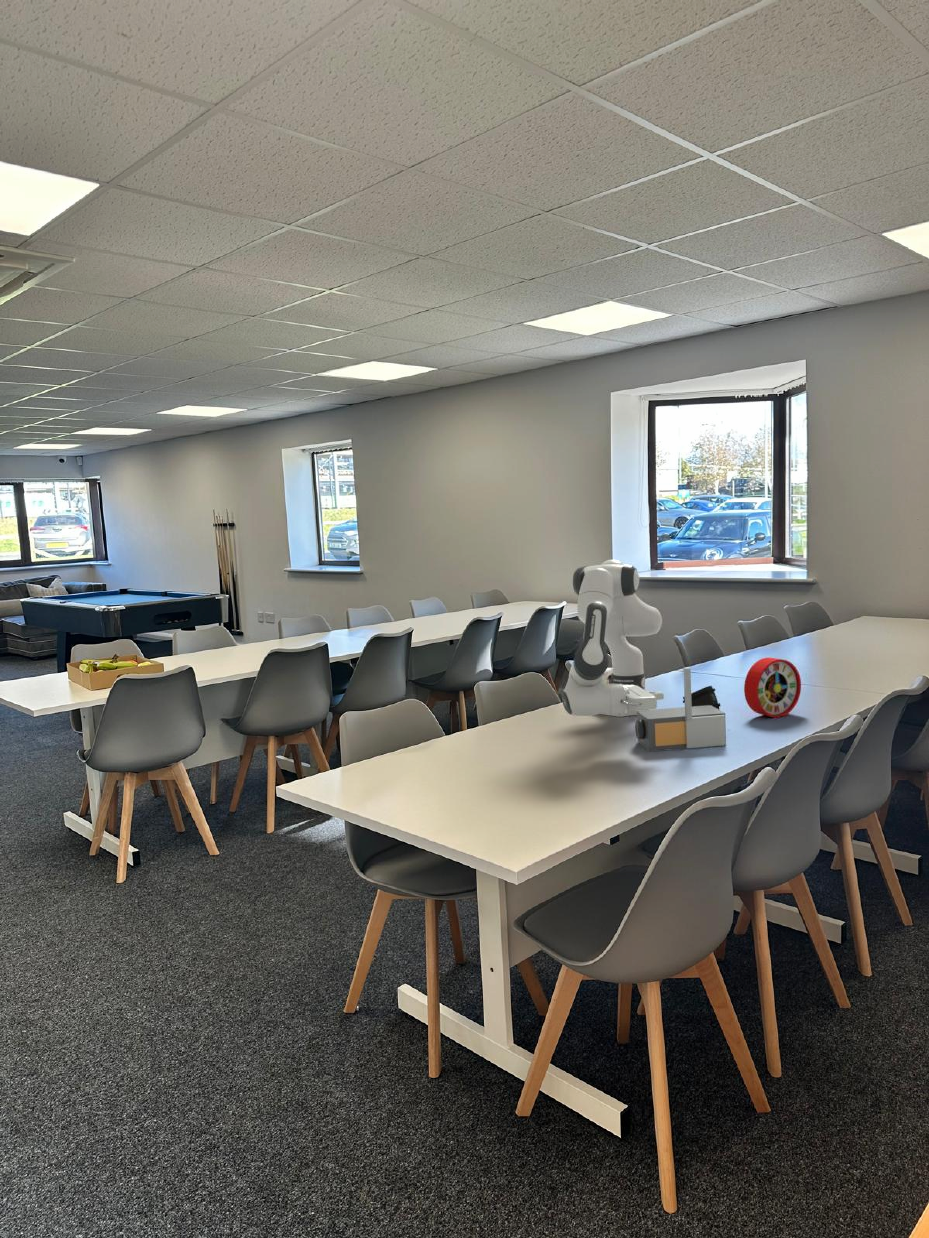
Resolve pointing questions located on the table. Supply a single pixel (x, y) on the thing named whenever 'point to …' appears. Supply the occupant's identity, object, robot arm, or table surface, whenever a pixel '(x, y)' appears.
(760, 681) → the toy clock
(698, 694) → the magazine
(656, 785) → the table surface
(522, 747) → the table surface
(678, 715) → the camera housing
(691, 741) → the door
